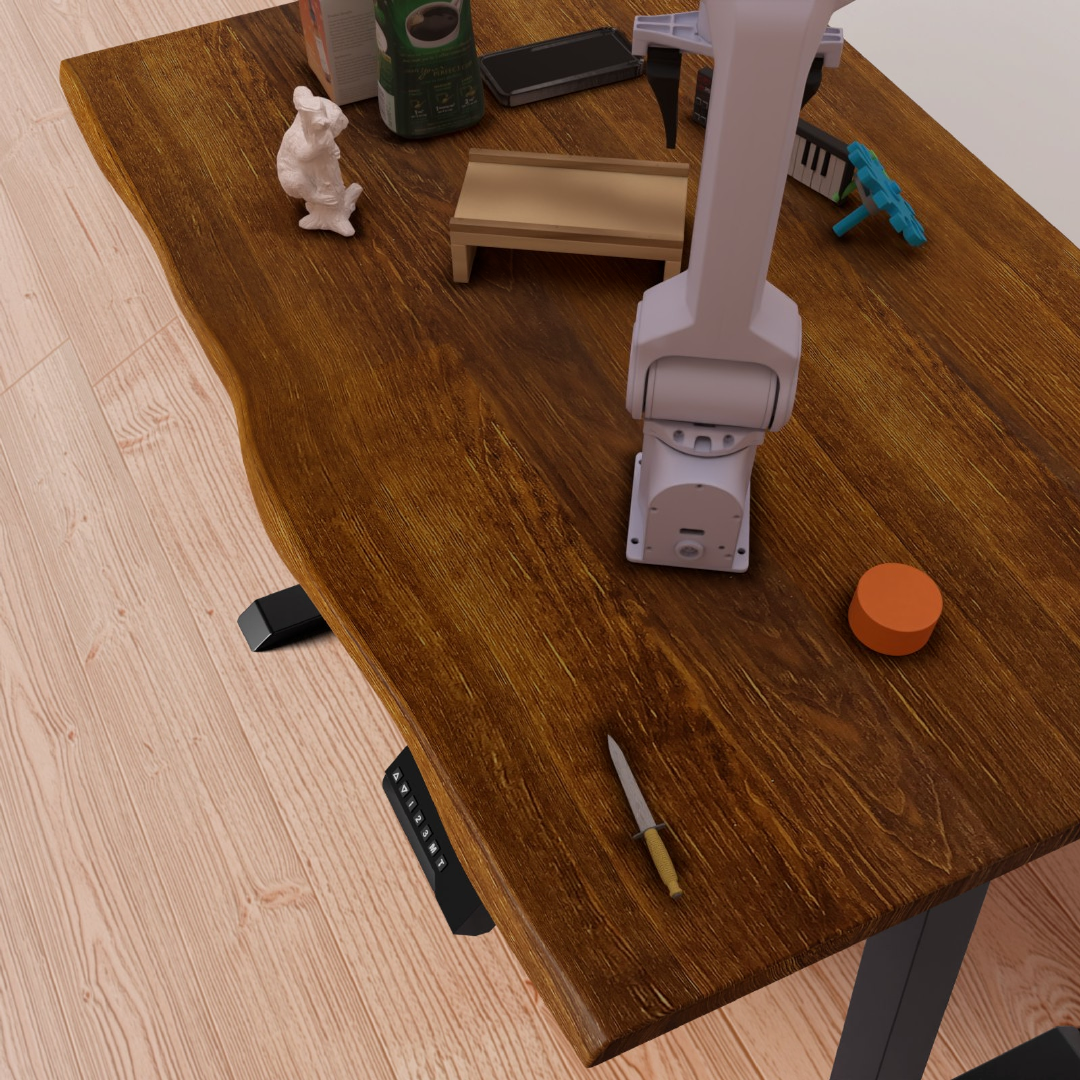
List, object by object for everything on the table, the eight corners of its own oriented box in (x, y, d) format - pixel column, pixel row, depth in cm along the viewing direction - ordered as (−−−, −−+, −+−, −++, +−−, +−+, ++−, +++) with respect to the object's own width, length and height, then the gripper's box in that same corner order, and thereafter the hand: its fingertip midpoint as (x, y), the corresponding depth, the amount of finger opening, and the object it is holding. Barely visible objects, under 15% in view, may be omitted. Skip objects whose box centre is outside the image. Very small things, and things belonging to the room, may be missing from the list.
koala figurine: (378, 239, 97) (360, 109, 88) (298, 255, 96) (272, 125, 86) (356, 181, 102) (337, 53, 93) (280, 196, 101) (253, 67, 91)
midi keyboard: (690, 120, 108) (696, 70, 104) (700, 115, 108) (706, 65, 104) (837, 207, 100) (849, 156, 96) (847, 200, 100) (859, 150, 96)
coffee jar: (468, 84, 112) (456, -121, 97) (494, 129, 107) (486, -79, 92) (370, 103, 110) (343, -103, 95) (392, 150, 105) (368, -60, 90)
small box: (308, 66, 114) (289, -42, 105) (362, 53, 115) (348, -55, 107) (334, 108, 109) (317, -1, 101) (390, 94, 110) (378, -15, 102)
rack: (676, 300, 92) (683, 241, 88) (453, 282, 94) (449, 223, 89) (682, 222, 99) (689, 163, 94) (473, 206, 100) (469, 147, 95)
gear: (944, 258, 93) (875, 174, 88) (880, 302, 96) (810, 223, 91) (914, 190, 101) (850, 109, 96) (856, 232, 104) (790, 156, 99)
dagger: (590, 737, 68) (622, 723, 68) (593, 743, 69) (624, 730, 69) (659, 901, 62) (693, 886, 62) (661, 907, 62) (695, 892, 63)
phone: (648, 63, 111) (503, 97, 108) (647, 74, 112) (503, 108, 109) (613, 24, 116) (472, 55, 112) (612, 34, 117) (473, 66, 113)
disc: (934, 660, 72) (946, 635, 70) (849, 651, 72) (858, 627, 70) (927, 592, 75) (939, 566, 73) (846, 584, 76) (855, 558, 73)
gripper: (854, -57, 79) (817, 121, 90) (642, -69, 81) (630, 108, 91) (859, -6, 75) (819, 175, 86) (635, -19, 76) (623, 161, 87)
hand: (722, 144), depth 88 cm, fingers open, 7 cm apart
